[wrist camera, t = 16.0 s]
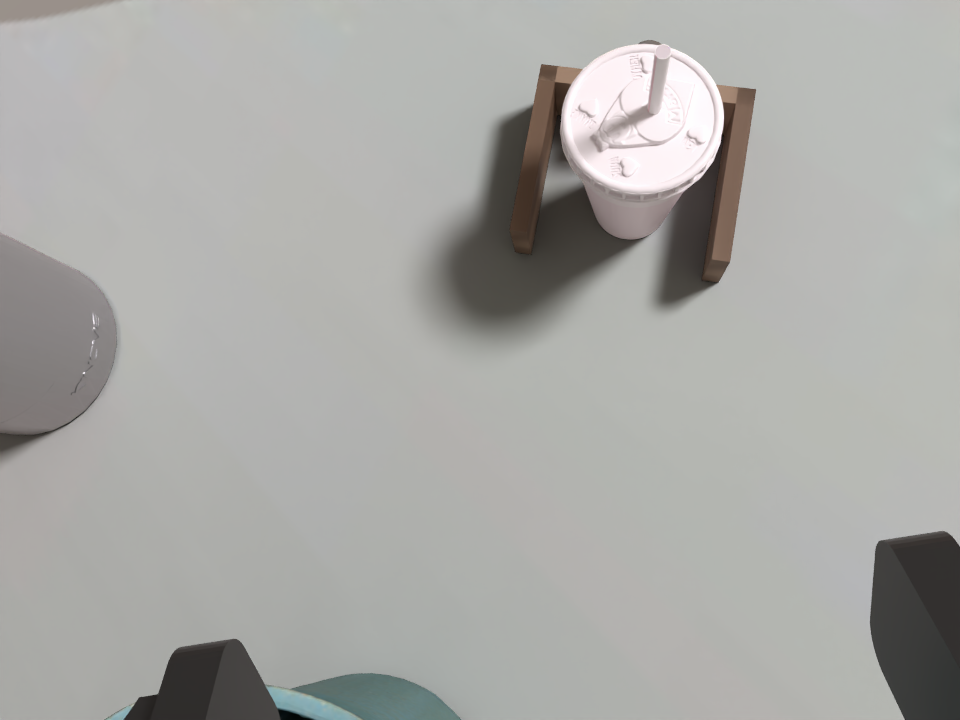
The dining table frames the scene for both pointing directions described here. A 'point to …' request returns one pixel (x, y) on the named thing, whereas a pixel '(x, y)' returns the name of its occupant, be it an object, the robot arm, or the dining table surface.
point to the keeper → (538, 150)
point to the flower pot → (353, 700)
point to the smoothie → (640, 133)
